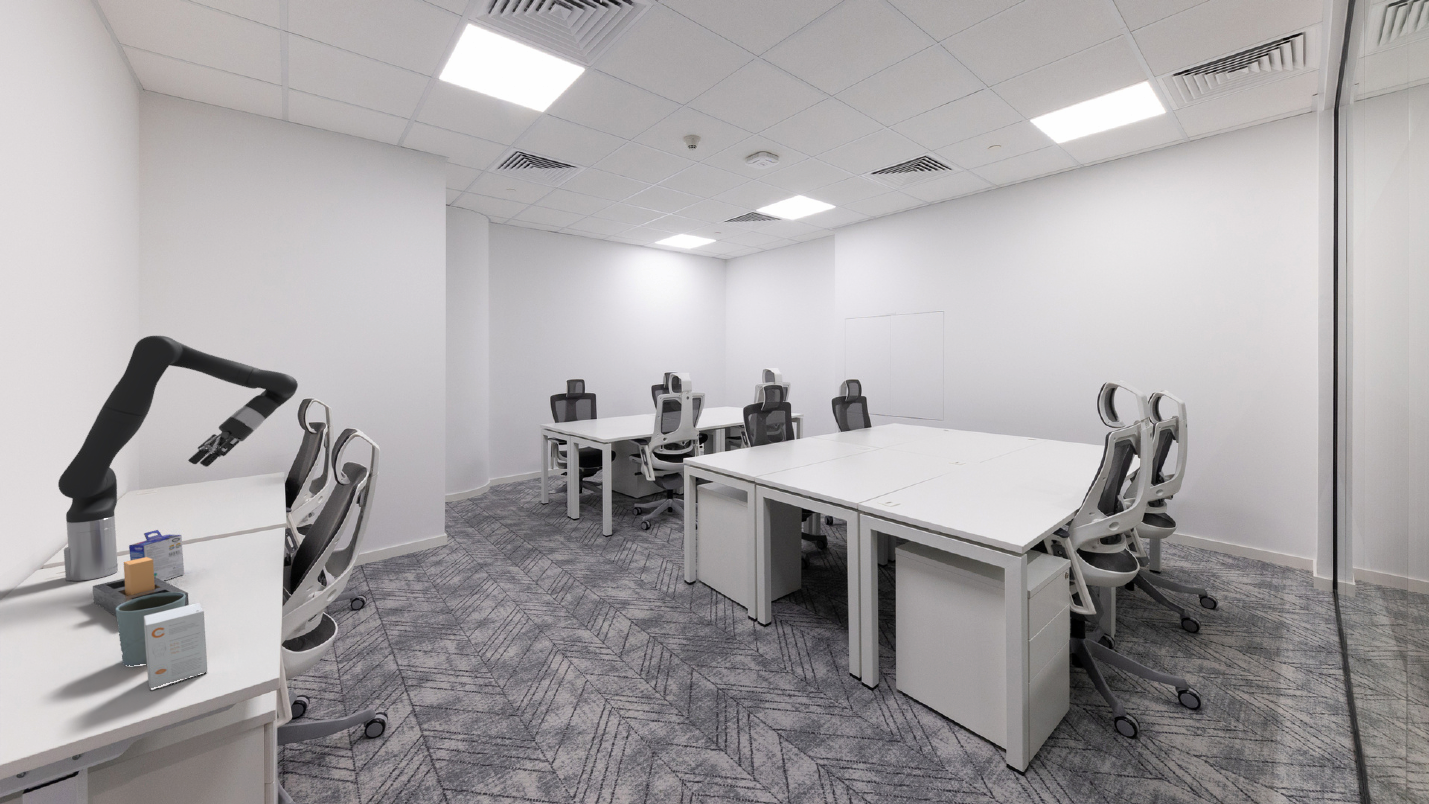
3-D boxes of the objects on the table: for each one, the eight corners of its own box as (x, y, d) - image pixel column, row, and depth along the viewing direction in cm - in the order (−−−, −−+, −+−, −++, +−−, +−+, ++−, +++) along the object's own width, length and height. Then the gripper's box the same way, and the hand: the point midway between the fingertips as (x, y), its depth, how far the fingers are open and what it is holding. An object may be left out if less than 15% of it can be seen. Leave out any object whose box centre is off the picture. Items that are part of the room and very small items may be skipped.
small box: (203, 662, 110) (200, 601, 109) (208, 673, 106) (204, 610, 105) (146, 679, 104) (142, 615, 103) (148, 692, 100) (145, 625, 99)
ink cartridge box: (169, 573, 159) (166, 526, 158) (185, 574, 158) (183, 526, 157) (130, 586, 149) (127, 536, 148) (147, 587, 148) (144, 537, 147)
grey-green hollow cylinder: (111, 661, 110) (108, 605, 110) (177, 639, 119) (174, 587, 119) (129, 674, 106) (125, 615, 105) (196, 650, 115) (193, 596, 114)
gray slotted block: (93, 602, 138) (92, 585, 138) (147, 589, 147) (146, 573, 147) (132, 626, 125) (131, 608, 125) (189, 610, 134) (188, 592, 134)
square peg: (132, 607, 133) (129, 564, 133) (126, 604, 135) (123, 562, 135) (155, 601, 137) (153, 559, 136) (149, 597, 139) (146, 557, 138)
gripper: (221, 415, 171) (175, 454, 162) (241, 416, 165) (194, 458, 155) (243, 429, 176) (199, 469, 167) (263, 432, 170) (219, 473, 160)
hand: (197, 463), depth 161 cm, fingers open, 8 cm apart
